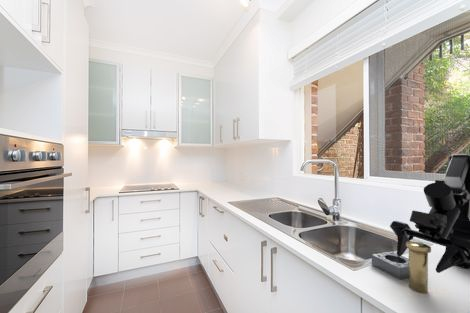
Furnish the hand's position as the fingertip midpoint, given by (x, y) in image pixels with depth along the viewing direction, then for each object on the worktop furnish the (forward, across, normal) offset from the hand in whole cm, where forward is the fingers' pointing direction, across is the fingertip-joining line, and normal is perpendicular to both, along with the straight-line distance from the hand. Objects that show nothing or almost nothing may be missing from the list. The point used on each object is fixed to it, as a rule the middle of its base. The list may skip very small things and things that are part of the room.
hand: (416, 263), depth 58 cm
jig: (+1, -9, +9) cm, 13 cm away
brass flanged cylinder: (+4, 0, +6) cm, 7 cm away
